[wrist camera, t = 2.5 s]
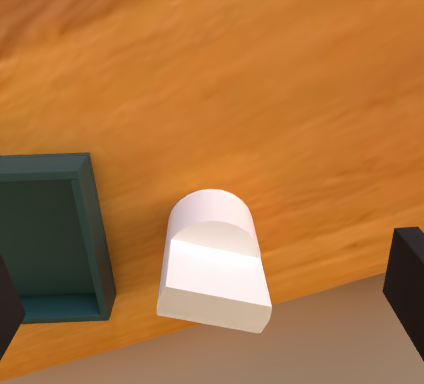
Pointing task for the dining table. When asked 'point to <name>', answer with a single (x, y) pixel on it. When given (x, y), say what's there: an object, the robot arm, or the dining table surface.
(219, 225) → the cylinder with rectangular tab
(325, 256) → the dining table surface
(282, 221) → the dining table surface
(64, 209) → the bin
